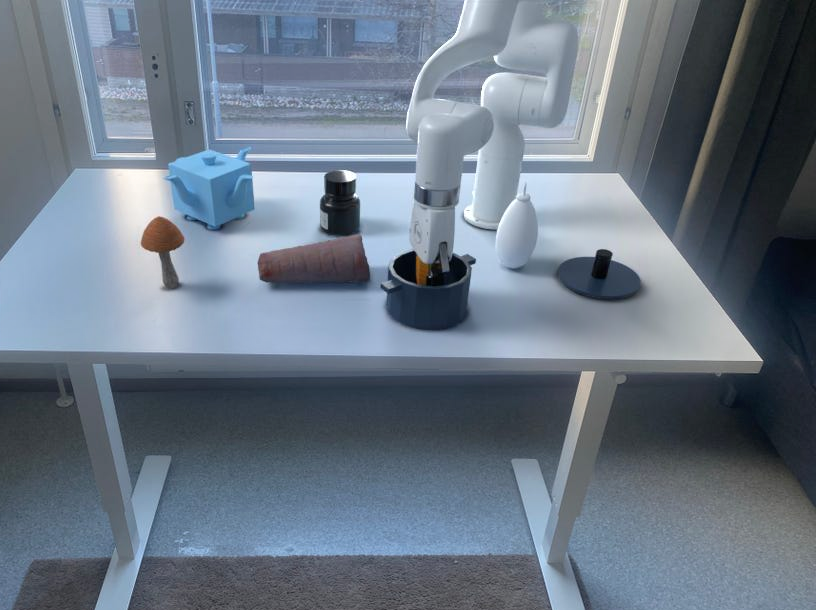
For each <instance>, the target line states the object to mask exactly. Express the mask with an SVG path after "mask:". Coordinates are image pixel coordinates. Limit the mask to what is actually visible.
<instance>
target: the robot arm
mask: <svg viewBox="0 0 816 610" xmlns="http://www.w3.org/2000/svg"><path fill="white" fill-rule="evenodd" d="M555 1H556V0H464V3H463V8H462V12H461V15H460V18H459V22H458V26H457V30H456V33H455V34H454V35H453V36H452V37H451V38H450V39H449V40H448V41H446V42H445V43H444V44H443V45H442V46H441V47H439V48H438V49H437V50H436V51H435V52H434V53H433V54H432V55H431V57H429V58H428V60H427V61H426V62H425V64H424V65H423V67H422V68H421V69H420V72H419V73H418V76H417V78H416V81H415V84H414V87H413V91H412V94H411V98H410V102H409V106H408V109H407V115H406V122H405V123H406V127H405V129H406V133H407V135H408V137H409V139H410V140H412V142H415V143H417V147H416V160H415V161H416V163H415V174H414V189H413V191H414V192H413V204H412V209H411V218H410V225H409V226H410V227H409V235H408V241H409V244H410V246H411V247H412V249H414V250H415V252H416V259H417V255H418V256H419V258H420V259H421V260H422V261H423V263H425V264H428V276H426V283H425V286H433V287H434V286H443V284H444V277H445V274H446V273H447V272H449V263H448V262H449V261H450V260H451V258H452V253H454V245H455V231H456V207H457V206H458V205H459V202H460V194H461V185H462V176H463V167H464V159H465V157H466V156H468V155H472V154H474V153H476V152H478V155H477V163H476V170H475V176H474V177H475V179H474V186H473V191H472V192H471V195H472V202H471V204H470V205H468V206H467V207H466V208H465V209H464V211H463V217H464V219H465V220H466V222H468V223H469V224H471V225H472V226H473V227H477V228H481V229H486V230H495V231H497V230H498V227H499V224H500V221H501V219H502V217H503V215H504V213H505V211H506V210H507V208H508V207H509V205H510V204H511V203H512V202H513V201H514V200H515V199H516V196H517V195H518V192H519V191H518V190H519V184H520V178H521V172H522V166H523V160H524V155H525V154H524V153H525V149H526V147H525V145H526V144H525V143H526V142H525V137H524V134H523V132H522V130H521V128H520V125H521V126H528V127H535V128H541V129H542V128H543V129H555V128H557V127H559V126H560V125H561V124H562V123H563V121H564V119H565V117H566V114H567V112H568V107H569V102H570V98H571V97H570V96H571V91H572V84H573V79H574V74H575V66H576V61H577V55H578V47H579V33H578V29H577V27H576V25H575V24H574V23H573V22H571V21H568V20H565V19H555V18H547V17H546V18H545V17H544V16H543V8H544V4H551V3H553V2H555ZM490 58H493V59H494V62H495V63H496V65H498V66H499V67H501V68H505V69H510V70H516V71H522V72H524V71H525V72H532V73H539V74H540V73H541V74H544V75H545V76H538V75H532V74H525V73H516V72H497V73H494V74H492V75H490V76H489V77H488V78H486V79H485V81H484V83H483V84H482V90H481V95H480V104H475V103H469V102H461V101H457V100H449V99H442V98H435V97H434V96H435V93H436V91H437V89H438V88H439V86H440V85H441V83H442V82H443V81H444V80H445V79H446V78H447V77H448V76H449V75H451V74H452V73H454V72H456V71H458V70H459V69H462V68H465V67H467V66H470V65H473V64H475V63H478V62H481V61H485V60H487V59H490ZM436 257H438V258H439V259H435V258H436ZM416 262H417V260H416ZM433 264H439V267H438V268H435V269H434V270H433ZM414 278H415V280H416V281H417V277H416V264H415V277H414Z"/></svg>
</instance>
